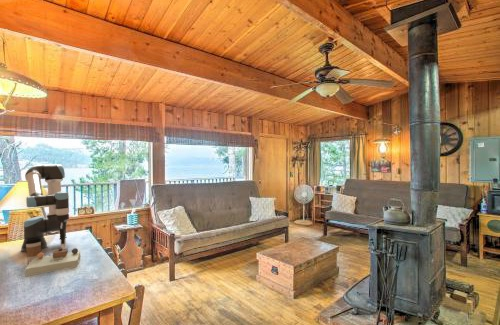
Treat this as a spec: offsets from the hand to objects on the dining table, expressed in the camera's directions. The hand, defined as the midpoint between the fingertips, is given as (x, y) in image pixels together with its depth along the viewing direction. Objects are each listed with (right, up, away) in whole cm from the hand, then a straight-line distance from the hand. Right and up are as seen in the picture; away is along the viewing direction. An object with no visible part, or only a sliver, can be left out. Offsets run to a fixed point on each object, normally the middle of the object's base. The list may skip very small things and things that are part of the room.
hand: (63, 247), depth 181 cm
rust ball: (-4, 0, -15) cm, 16 cm away
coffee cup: (-14, -6, -8) cm, 17 cm away
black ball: (+13, +1, -8) cm, 16 cm away
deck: (+7, -5, -17) cm, 19 cm away
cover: (+6, -1, -11) cm, 12 cm away
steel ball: (+10, -4, -18) cm, 21 cm away
